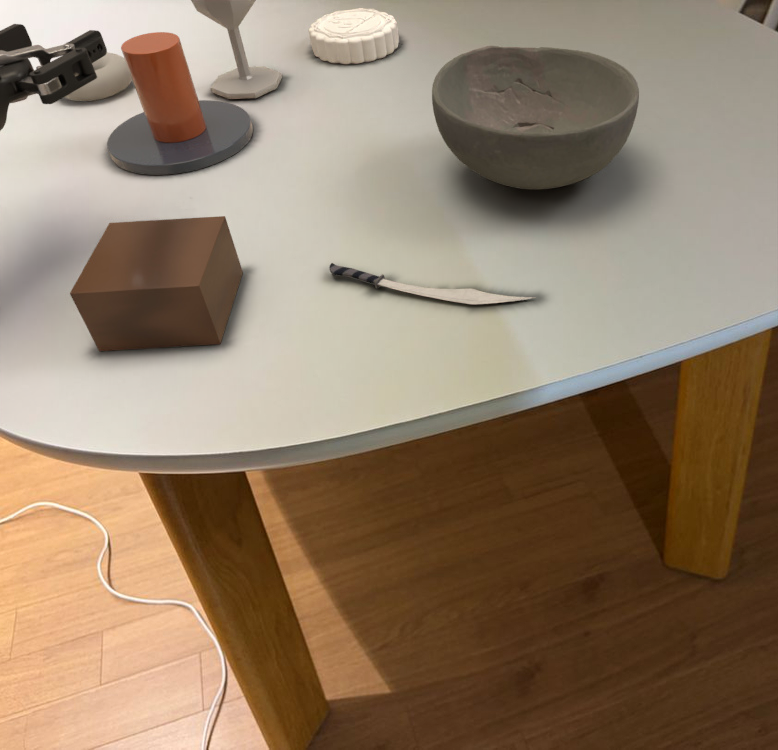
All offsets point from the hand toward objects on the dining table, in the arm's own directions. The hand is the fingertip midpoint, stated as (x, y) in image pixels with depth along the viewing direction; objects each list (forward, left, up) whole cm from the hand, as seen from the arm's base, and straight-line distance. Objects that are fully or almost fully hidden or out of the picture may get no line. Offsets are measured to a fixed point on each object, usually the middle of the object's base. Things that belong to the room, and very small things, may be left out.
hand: (62, 37), depth 74 cm
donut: (-11, +27, -16) cm, 33 cm away
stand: (+11, -21, -16) cm, 29 cm away
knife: (+33, -20, -16) cm, 42 cm away
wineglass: (+9, +25, -16) cm, 31 cm away
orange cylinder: (+4, +11, -15) cm, 18 cm away
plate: (+4, +11, -16) cm, 19 cm away
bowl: (+44, -1, -16) cm, 47 cm away
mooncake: (+22, +36, -16) cm, 45 cm away
